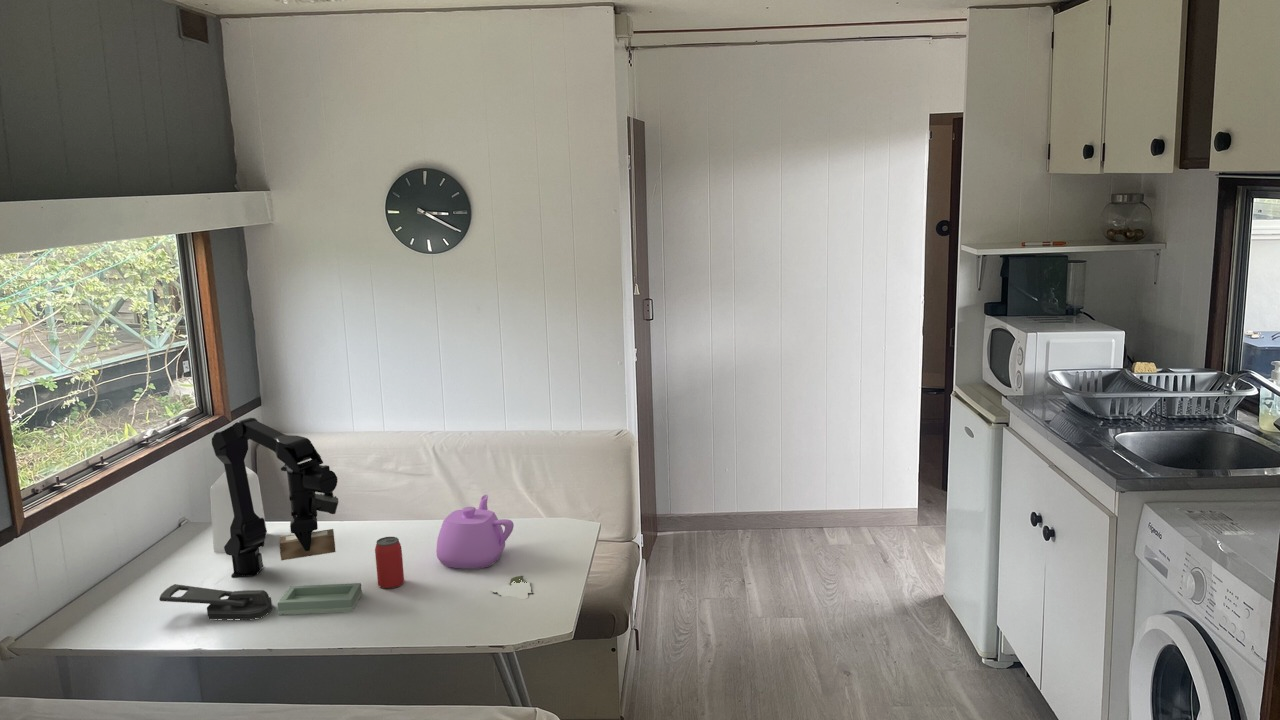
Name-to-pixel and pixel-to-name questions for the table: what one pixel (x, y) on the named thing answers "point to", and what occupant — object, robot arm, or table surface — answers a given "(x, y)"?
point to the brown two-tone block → (319, 545)
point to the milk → (230, 507)
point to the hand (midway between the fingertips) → (307, 547)
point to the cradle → (320, 598)
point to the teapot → (472, 537)
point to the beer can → (389, 562)
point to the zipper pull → (223, 601)
